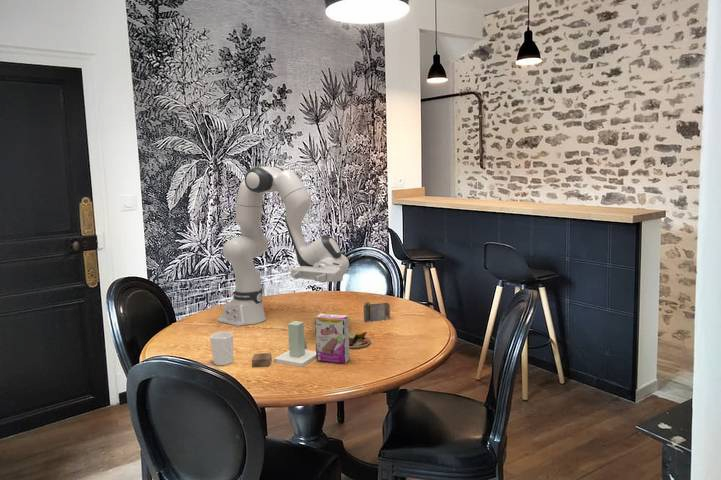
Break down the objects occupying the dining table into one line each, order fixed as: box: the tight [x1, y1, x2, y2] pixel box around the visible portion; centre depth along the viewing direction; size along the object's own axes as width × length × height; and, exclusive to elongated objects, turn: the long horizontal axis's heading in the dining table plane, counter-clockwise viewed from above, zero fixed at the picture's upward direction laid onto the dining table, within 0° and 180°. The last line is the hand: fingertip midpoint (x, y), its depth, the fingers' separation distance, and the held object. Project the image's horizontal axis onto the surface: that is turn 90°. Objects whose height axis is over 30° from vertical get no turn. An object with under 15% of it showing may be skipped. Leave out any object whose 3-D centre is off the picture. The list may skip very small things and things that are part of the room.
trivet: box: [273, 349, 316, 368], centre depth 190 cm, size 12×12×1 cm
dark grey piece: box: [363, 301, 391, 323], centre depth 234 cm, size 11×3×10 cm, turn 103°
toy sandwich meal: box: [349, 331, 371, 350], centre depth 205 cm, size 12×14×5 cm
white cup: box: [209, 331, 234, 366], centre depth 189 cm, size 8×8×10 cm
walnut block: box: [251, 352, 272, 368], centre depth 186 cm, size 6×6×3 cm
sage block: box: [287, 320, 306, 358], centre depth 190 cm, size 4×4×12 cm
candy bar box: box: [314, 313, 351, 365], centre depth 186 cm, size 11×5×16 cm, turn 71°
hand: (305, 277), depth 199 cm, fingers open, 8 cm apart
